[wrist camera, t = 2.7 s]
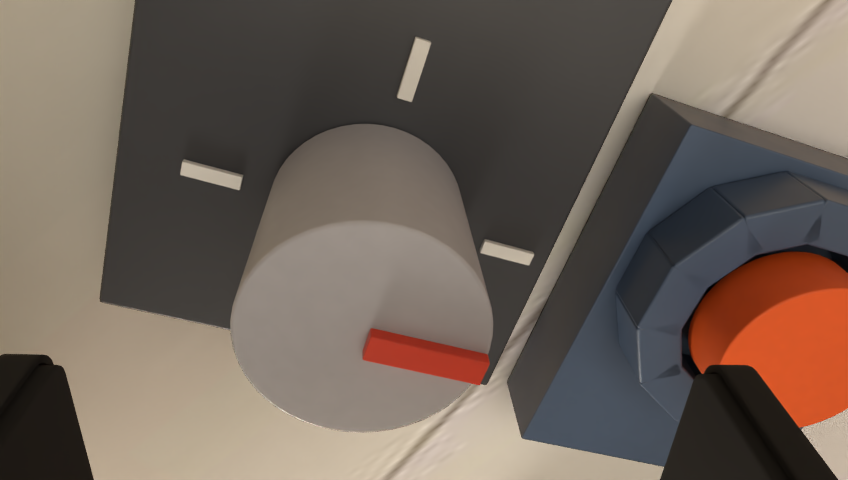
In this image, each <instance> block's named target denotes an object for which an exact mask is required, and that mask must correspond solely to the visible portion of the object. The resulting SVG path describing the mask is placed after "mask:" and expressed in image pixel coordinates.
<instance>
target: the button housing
mask: <svg viewBox="0 0 848 480" xmlns="http://www.w3.org/2000/svg"><path fill="white" fill-rule="evenodd" d="M795 251H798V252H808V253H813V254H818V255H821V256H823V257H826V258H828V259H830V260H832V261H833V262H835V263H836V264H838V265H839V266H840V267H841V268H842V269H843V270H845V271H846V272H847V273H848V159H847V158H844V157H841V156H838V155H835V154H832V153H829V152H826V151H823V150H820V149H817V148H814V147H811V146H808V145H805V144H802V143H799V142H796V141H793V140H790V139H787V138H784V137H781V136H778V135H775V134H772V133H769V132H766V131H763V130H760V129H757V128H754V127H751V126H748V125H745V124H742V123H739V122H736V121H733V120H730V119H727V118H724V117H721V116H718V115H715V114H712V113H709V112H706V111H703V110H700V109H697V108H694V107H691V106H688V105H685V104H682V103H679V102H676V101H673V100H670V99H668V98H665V97H662V96H659V95H656V94H651V95H650V97H649V99H648V101H647V103H646V105H645V107H644V109H643V111H642V113H641V115H640V117H639V119H638V121H637V123H636V125H635V127H634V129H633V131H632V133H631V135H630V137H629V139H628V141H627V143H626V145H625V147H624V149H623V151H622V153H621V155H620V157H619V159H618V161H617V163H616V165H615V167H614V169H613V171H612V173H611V175H610V177H609V179H608V181H607V183H606V185H605V187H604V189H603V191H602V193H601V195H600V197H599V199H598V201H597V203H596V205H595V207H594V209H593V211H592V213H591V215H590V217H589V219H588V221H587V223H586V225H585V227H584V229H583V231H582V233H581V235H580V237H579V239H578V241H577V243H576V245H575V247H574V249H573V251H572V253H571V255H570V257H569V259H568V261H567V263H566V265H565V267H564V269H563V271H562V273H561V275H560V277H559V279H558V281H557V283H556V285H555V287H554V289H553V291H552V293H551V295H550V297H549V299H548V301H547V303H546V305H545V307H544V309H543V311H542V313H541V315H540V317H539V319H538V321H537V323H536V325H535V327H534V329H533V331H532V333H531V335H530V337H529V339H528V341H527V343H526V345H525V347H524V349H523V351H522V353H521V355H520V357H519V359H518V361H517V363H516V365H515V367H514V369H513V371H512V373H511V375H510V377H509V379H508V381H507V384H508V388H509V392H510V395H511V399H512V403H513V407H514V411H515V414H516V418H517V422H518V426H519V430H520V433H521V437H522V438H523V439H527V440H533V441H538V442H543V443H548V444H553V445H558V446H563V447H568V448H573V449H578V450H583V451H588V452H593V453H598V454H603V455H608V456H613V457H618V458H623V459H628V460H633V461H638V462H643V463H648V464H653V465H658V466H663V467H665V464H666V461H667V458H668V455H669V452H670V449H671V446H672V443H673V440H674V437H675V434H676V431H677V428H678V425H679V422H680V419H681V416H682V413H683V410H684V407H685V404H686V401H687V398H688V395H689V392H690V389H691V386H692V383H693V381H694V379H695V377H696V376H697V375H698V374H702V373H701V372H700V370H699V369H698V367H697V366H696V364H695V363H694V361H693V359H692V357H691V354H690V350H689V344H688V334H689V327H690V323H691V320H692V317H693V315H694V312H695V311H696V309H697V307H698V305H699V303H700V302H701V301H702V299H703V298H704V296H705V295H706V294H707V293H708V292H709V291H710V289H711V288H712V287H713V286H714V285H715V284H717V283H718V282H719V281H720V280H721V279H722V278H724V277H725V276H726V275H728V274H729V273H730V272H732V271H733V270H735V269H737V268H738V267H740V266H742V265H744V264H746V263H748V262H750V261H752V260H755V259H758V258H760V257H763V256H767V255H771V254H775V253H781V252H795ZM802 428H803V427H800V430H801V429H802Z"/></svg>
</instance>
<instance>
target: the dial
mask: <svg viewBox="0 0 848 480" xmlns="http://www.w3.org/2000/svg"><path fill="white" fill-rule="evenodd" d="M230 328H231V339H232V345H233V349H234V352H235V355H236V358H237V360H238V363H239V365H240V367H241V369H242V371H243V372H244V374H245V376H246V377H247V379H248V380H249V381H250V383H251V384H252V385H253V387H254V388H255V389H256V390H257V391H258V392H259V393H260V394H261V395H262V396H263V397H264V398H265V399H266V400H268V401H269V402H270V403H271V404H273V405H274V406H275V407H277V408H278V409H280V410H282V411H283V412H285V413H286V414H288V415H290V416H292V417H294V418H297V419H299V420H301V421H303V422H306V423H309V424H312V425H315V426H318V427H322V428H326V429H331V430H337V431H344V432H378V431H385V430H392V429H396V428H400V427H404V426H408V425H411V424H413V423H416V422H419V421H422V420H424V419H426V418H428V417H430V416H432V415H434V414H436V413H438V412H439V411H441V410H442V409H444V408H446V407H447V406H449V405H450V404H451V403H452V402H454V401H455V400H456V399H457V398H459V397H460V396H461V395H462V394H463V393H464V392H465V391H466V390H467V389H468V388H469V386H470V385H471V384H476V385H480V384H481V382H482V380H483V377H484V375H485V373H486V371H487V369H488V367H489V365H490V362H489V357H488V353H489V350H490V346H491V341H492V337H493V315H492V308H491V304H490V300H489V296H488V293H487V289H486V286H485V282H484V278H483V275H482V271H481V267H480V264H479V260H478V256H477V253H476V249H475V245H474V242H473V238H472V234H471V231H470V227H469V223H468V220H467V216H466V212H465V209H464V205H463V201H462V198H461V194H460V190H459V187H458V184H457V181H456V179H455V177H454V175H453V173H452V171H451V170H450V168H449V166H448V165H447V163H446V162H445V161H444V160H443V159H442V157H441V156H440V155H439V154H438V153H437V152H436V151H435V150H434V149H433V148H431V147H430V146H429V145H428V144H426V143H425V142H423V141H422V140H420V139H419V138H417V137H415V136H413V135H411V134H409V133H407V132H404V131H402V130H399V129H396V128H392V127H388V126H383V125H375V124H353V125H346V126H340V127H337V128H334V129H330V130H327V131H325V132H323V133H320V134H318V135H316V136H314V137H313V138H311V139H309V140H308V141H306V142H304V143H303V144H302V145H301V146H299V147H298V148H297V149H296V150H295V151H294V152H293V153H292V154H291V155H290V156H289V157H288V158H287V159H286V161H285V162H284V163H283V165H282V166H281V168H280V169H279V171H278V173H277V175H276V177H275V179H274V182H273V185H272V188H271V191H270V194H269V197H268V200H267V203H266V206H265V209H264V212H263V215H262V218H261V221H260V224H259V227H258V230H257V233H256V236H255V239H254V242H253V245H252V248H251V251H250V254H249V257H248V260H247V263H246V266H245V269H244V272H243V275H242V279H241V282H240V285H239V288H238V291H237V294H236V297H235V300H234V303H233V306H232V313H231V319H230Z"/></svg>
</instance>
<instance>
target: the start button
mask: <svg viewBox="0 0 848 480" xmlns="http://www.w3.org/2000/svg"><path fill="white" fill-rule="evenodd" d="M688 344H689V350H690V354H691V357H692V359H693V361H694V363H695V364H696V366H697V367H698V369H699V370H700V372H701V373H702V374H704V372H705V370H706V368H707V367H708V366H710V365H749V366H751V367H753V368H754V369H755V370H756V371H757V372H758V374H759V375H760V376H761V378H762V379H763V380H764V382H765V383H766V384H767V386H768V387H769V388H770V390H771V391H772V392H773V394H774V395H775V396H776V398H777V399H778V400H779V402H780V403H781V404H782V406H783V407H784V408H785V410H786V411H787V412H788V414H789V415H790V416H791V418H792V419H793V420H794V422H795V423H796V424H797V426H798V427H799V428H800V427H804V426H808V425H812V424H815V423H818V422H821V421H823V420H826V419H828V418H830V417H833V416H835V415H836V414H838V413H840V412H842V411H844V410H846V409H847V408H848V273H847V272H846V271H845V270H843V269H842V268H841V267H840V266H839V265H838V264H836V263H835V262H833V261H832V260H830V259H828V258H826V257H823V256H821V255H818V254H813V253H808V252H798V251H795V252H781V253H775V254H771V255H767V256H763V257H760V258H758V259H755V260H752V261H750V262H748V263H746V264H744V265H742V266H740V267H738V268H737V269H735V270H733V271H732V272H730V273H729V274H728V275H726V276H725V277H724V278H722V279H721V280H720V281H719V282H718V283H717V284H715V285H714V286H713V287H712V288H711V289H710V291H709V292H708V293H707V294H706V295H705V296H704V298H703V299H702V301H701V302H700V303H699V305H698V307H697V309H696V311H695V312H694V315H693V317H692V320H691V323H690V327H689V334H688Z"/></svg>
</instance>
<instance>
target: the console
mask: <svg viewBox="0 0 848 480" xmlns="http://www.w3.org/2000/svg"><path fill="white" fill-rule="evenodd" d="M671 2H672V0H135V6H134V14H133V22H132V31H131V39H130V48H129V56H128V64H127V73H126V81H125V89H124V98H123V106H122V115H121V123H120V131H119V140H118V148H117V157H116V165H115V173H114V182H113V190H112V198H111V207H110V215H109V224H108V232H107V240H106V249H105V257H104V266H103V274H102V282H101V291H100V302H102V303H106V304H111V305H115V306H120V307H125V308H129V309H134V310H139V311H143V312H148V313H153V314H157V315H162V316H167V317H171V318H176V319H181V320H185V321H190V322H195V323H199V324H204V325H208V326H213V327H218V328H222V329H227V330H231V328H230V319H231V313H232V306H233V303H234V300H235V297H236V294H237V291H238V288H239V285H240V282H241V279H242V275H243V272H244V269H245V266H246V263H247V260H248V257H249V254H250V251H251V248H252V245H253V242H254V239H255V236H256V233H257V230H258V227H259V224H260V221H261V218H262V215H263V212H264V209H265V206H266V203H267V200H268V197H269V194H270V191H271V188H272V185H273V182H274V179H275V177H276V175H277V173H278V171H279V169H280V168H281V166H282V165H283V163H284V162H285V161H286V159H287V158H288V157H289V156H290V155H291V154H292V153H293V152H294V151H295V150H296V149H297V148H298V147H299V146H301V145H302V144H303V143H304V142H306V141H308V140H309V139H311V138H313V137H314V136H316V135H318V134H320V133H323V132H325V131H327V130H330V129H334V128H337V127H340V126H346V125H353V124H375V125H383V126H388V127H392V128H396V129H399V130H402V131H404V132H407V133H409V134H411V135H413V136H415V137H417V138H419V139H420V140H422V141H423V142H425V143H426V144H428V145H429V146H430V147H431V148H433V149H434V150H435V151H436V152H437V153H438V154H439V155H440V156H441V157H442V159H443V160H444V161H445V162H446V163H447V165H448V166H449V168H450V170H451V171H452V173H453V175H454V177H455V179H456V181H457V184H458V187H459V190H460V194H461V198H462V201H463V205H464V209H465V212H466V216H467V220H468V223H469V227H470V231H471V234H472V238H473V242H474V245H475V249H476V253H477V256H478V260H479V264H480V267H481V271H482V275H483V278H484V282H485V286H486V289H487V293H488V296H489V300H490V304H491V308H492V315H493V337H492V341H491V346H490V350H489V353H488V357H489V362H490V365H489V367H488V369H487V371H486V373H485V375H484V377H483V380H482V382H481V384H483V385H486V384H487V383H488V381H489V379H490V377H491V375H492V373H493V371H494V369H495V367H496V365H497V363H498V361H499V358H500V356H501V354H502V352H503V350H504V348H505V346H506V344H507V342H508V340H509V338H510V336H511V334H512V332H513V329H514V327H515V325H516V323H517V321H518V319H519V317H520V315H521V313H522V311H523V309H524V307H525V305H526V302H527V300H528V298H529V296H530V294H531V292H532V290H533V288H534V286H535V284H536V282H537V280H538V278H539V276H540V273H541V271H542V269H543V267H544V265H545V263H546V261H547V259H548V257H549V255H550V253H551V251H552V249H553V247H554V244H555V242H556V240H557V238H558V236H559V234H560V232H561V230H562V228H563V226H564V224H565V222H566V220H567V217H568V215H569V213H570V211H571V209H572V207H573V205H574V203H575V201H576V199H577V197H578V195H579V193H580V191H581V188H582V186H583V184H584V182H585V180H586V178H587V176H588V174H589V172H590V170H591V168H592V166H593V164H594V162H595V159H596V157H597V155H598V153H599V151H600V149H601V147H602V145H603V143H604V141H605V139H606V137H607V135H608V132H609V130H610V128H611V126H612V124H613V122H614V120H615V118H616V116H617V114H618V112H619V110H620V108H621V106H622V103H623V101H624V99H625V97H626V95H627V93H628V91H629V89H630V87H631V85H632V83H633V81H634V79H635V77H636V74H637V72H638V70H639V68H640V66H641V64H642V62H643V60H644V58H645V56H646V54H647V52H648V50H649V47H650V45H651V43H652V41H653V39H654V37H655V35H656V33H657V31H658V29H659V27H660V25H661V23H662V21H663V18H664V16H665V14H666V12H667V10H668V8H669V6H670V4H671Z"/></svg>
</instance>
